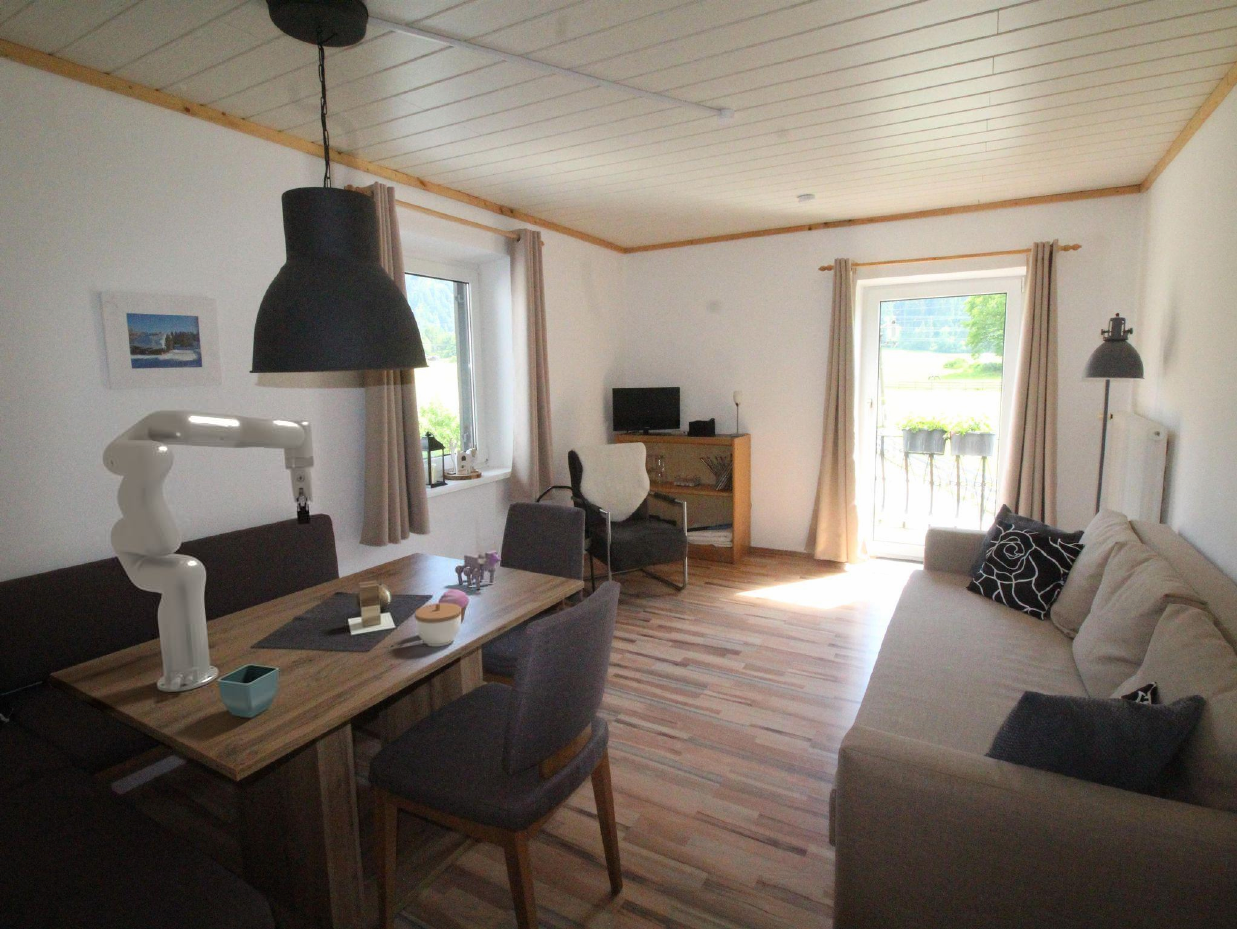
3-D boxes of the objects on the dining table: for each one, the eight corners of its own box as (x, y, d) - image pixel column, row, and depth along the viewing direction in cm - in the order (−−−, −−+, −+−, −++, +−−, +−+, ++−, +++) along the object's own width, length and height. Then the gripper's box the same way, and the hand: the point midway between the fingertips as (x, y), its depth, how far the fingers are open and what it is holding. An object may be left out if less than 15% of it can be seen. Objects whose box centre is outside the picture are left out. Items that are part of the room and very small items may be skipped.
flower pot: (252, 700, 151) (248, 663, 150) (283, 705, 148) (280, 667, 147) (219, 719, 142) (215, 679, 141) (251, 724, 140) (247, 684, 139)
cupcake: (453, 615, 204) (451, 584, 203) (475, 619, 200) (474, 587, 199) (433, 625, 196) (432, 593, 195) (456, 629, 192) (455, 596, 191)
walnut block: (379, 604, 193) (378, 585, 192) (361, 607, 191) (360, 587, 190) (378, 599, 198) (376, 580, 197) (360, 602, 196) (359, 583, 195)
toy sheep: (514, 586, 232) (511, 549, 230) (492, 596, 223) (489, 558, 221) (476, 577, 244) (473, 542, 241) (453, 586, 235) (450, 549, 233)
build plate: (395, 631, 192) (395, 627, 192) (351, 638, 186) (351, 634, 186) (389, 616, 204) (389, 612, 204) (348, 622, 199) (347, 619, 199)
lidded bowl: (437, 630, 192) (435, 594, 190) (472, 637, 186) (470, 599, 185) (406, 646, 181) (404, 607, 179) (441, 653, 175) (439, 614, 174)
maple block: (381, 624, 194) (379, 604, 193) (363, 627, 192) (361, 607, 191) (379, 619, 198) (378, 599, 198) (361, 621, 196) (360, 602, 196)
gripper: (314, 465, 184) (318, 525, 186) (313, 459, 200) (317, 514, 202) (284, 467, 181) (289, 527, 183) (285, 460, 196) (289, 516, 198)
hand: (303, 520), depth 192 cm, fingers open, 9 cm apart
